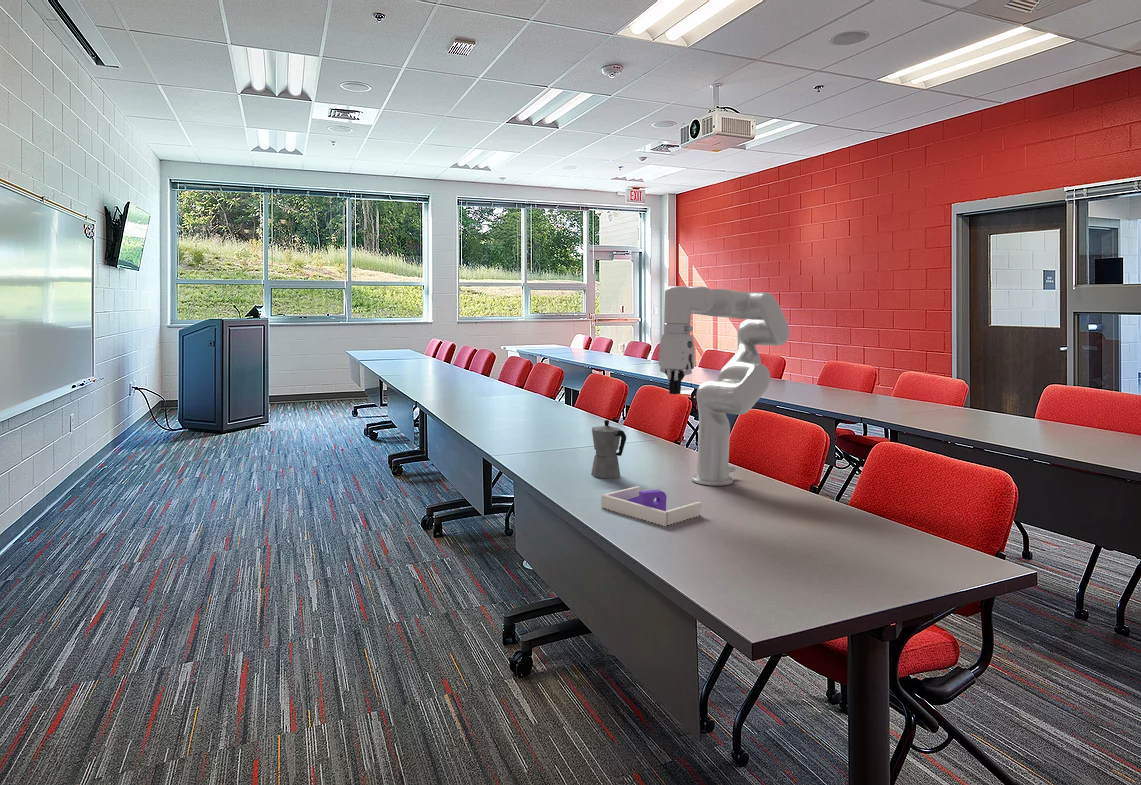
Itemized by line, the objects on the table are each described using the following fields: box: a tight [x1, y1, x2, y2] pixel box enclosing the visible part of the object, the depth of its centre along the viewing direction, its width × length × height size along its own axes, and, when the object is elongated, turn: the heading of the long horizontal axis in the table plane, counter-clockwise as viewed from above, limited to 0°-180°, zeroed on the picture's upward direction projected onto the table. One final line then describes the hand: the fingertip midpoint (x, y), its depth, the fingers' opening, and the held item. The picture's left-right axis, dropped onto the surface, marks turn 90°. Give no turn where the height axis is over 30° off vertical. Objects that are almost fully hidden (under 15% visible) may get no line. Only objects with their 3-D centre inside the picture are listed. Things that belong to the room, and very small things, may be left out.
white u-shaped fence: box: [600, 485, 702, 527], centre depth 186 cm, size 14×22×4 cm, turn 43°
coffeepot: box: [591, 419, 627, 479], centre depth 224 cm, size 15×9×18 cm, turn 39°
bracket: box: [626, 489, 667, 511], centre depth 187 cm, size 12×7×7 cm, turn 21°
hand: (674, 393), depth 203 cm, fingers closed
